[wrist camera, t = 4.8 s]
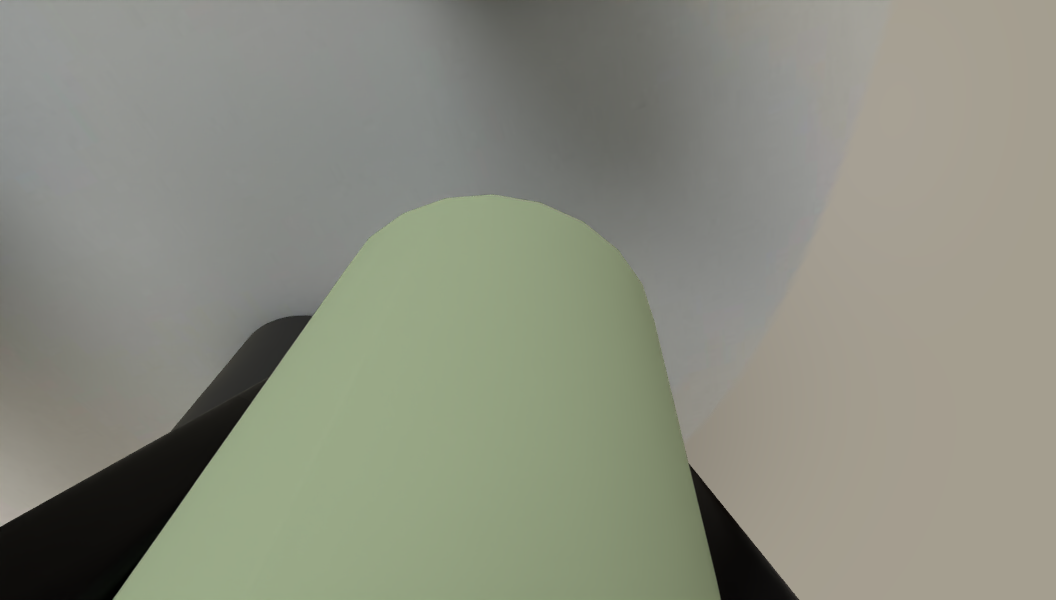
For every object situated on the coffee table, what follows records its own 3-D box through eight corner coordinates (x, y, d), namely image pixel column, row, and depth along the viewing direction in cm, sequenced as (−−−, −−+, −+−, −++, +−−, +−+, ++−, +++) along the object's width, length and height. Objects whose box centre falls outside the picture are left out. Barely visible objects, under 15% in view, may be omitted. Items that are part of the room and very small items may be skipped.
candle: (542, 497, 11) (501, 1445, 4) (291, 376, 10) (-368, 1379, 3) (723, 304, 9) (1331, 1650, 2) (424, 120, 8) (-946, 1692, 1)
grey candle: (396, 457, 20) (335, 636, 15) (244, 432, 20) (127, 603, 14) (407, 332, 17) (339, 493, 12) (233, 301, 17) (87, 451, 12)
